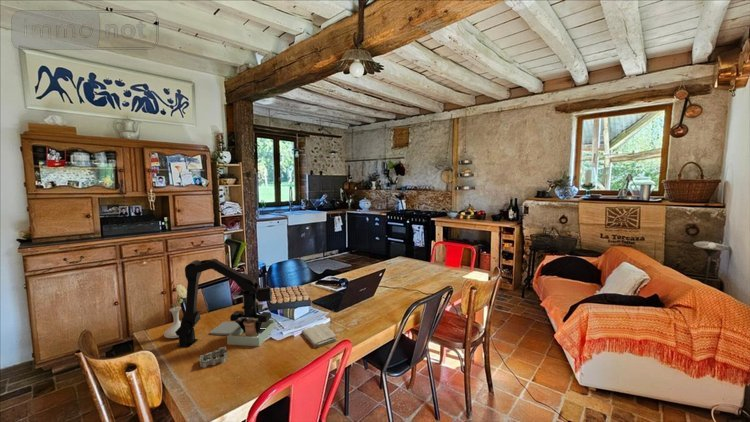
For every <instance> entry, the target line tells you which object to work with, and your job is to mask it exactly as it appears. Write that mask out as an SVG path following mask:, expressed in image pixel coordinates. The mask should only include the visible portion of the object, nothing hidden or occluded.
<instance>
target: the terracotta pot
mask: <svg viewBox="0 0 750 422" xmlns="http://www.w3.org/2000/svg"><path fill="white" fill-rule="evenodd" d="M256 321H257V319H255V318H248V319H246V320H244V322H243V324H244V326H245V332H244V334H245V335H244V336H251V337H257V336H258V335H260V332H259V333H258V334H257V332H256V326H255V322H256Z"/></svg>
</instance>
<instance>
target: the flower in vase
mask: <svg viewBox="0 0 750 422" xmlns="http://www.w3.org/2000/svg"><path fill="white" fill-rule="evenodd" d="M175 289H176V290H175V291H176V293H177V294H178V295H177V297H176V302H175V303H172V304H171V306H173V307H171V308H169V309H168V310H169V312H170V313H171V314H172V317H173V322H172V325H170V326H169V327H168V328H167V329H166V330H165V332H164V333H163V336H164V337H165V338H166V339H177V338H179V336H177V335H176V333H175V332H176V331H177V330H178V328H179V327H180V326H181V321H180V317H179V315H180V310H181V309H182V307H181V306H178V304H182V303H183V302H184V300H183V299H186V297H187V288H185V286H184V285H182V284H177V286H176V288H175ZM180 297H181V298H180Z"/></svg>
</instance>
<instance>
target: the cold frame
mask: <svg viewBox="0 0 750 422" xmlns="http://www.w3.org/2000/svg"><path fill="white" fill-rule="evenodd" d="M247 319H248V318H247ZM260 328H266V329H265V330H262V332H261V333H259V336H258V337H251V336H245V335H242V334H243V333H245V332H244V331H243V329H242V328H241V327H240V326H239V327H237V328H236V329H235V330H234V331H233V332H232V333H230V334H229V335H226V340H227V345H230V346H231V345H233V346H247V347H248V346H250V347H251V346H252V347H261V345H263V343H264V342H265V339H266V337H267V336H268V335H269V333H270V332H271V331H272V330H273V329H274V328H275V329H276V324H275V319H274V318H270V319H269V320H268V321H267V322H262V324H261V327H260ZM269 336H270V335H269ZM269 336H268V337H269ZM266 340H267V339H266Z"/></svg>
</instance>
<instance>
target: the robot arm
mask: <svg viewBox="0 0 750 422" xmlns="http://www.w3.org/2000/svg"><path fill="white" fill-rule="evenodd" d="M208 270H213V271H214V272H217V273H219V274H220V275H222V276H224V277H225V278H227V279H229V280H231V281H232V282H234V283H235V284H236V285H237V286H238V287H239V288H240V289H241V290H239V292H238V294H237V295H238V296H242V303H243V306H242V307H241V308H242V309H243V310H235V311H233V313H232V314H231V315H230V316H229V320H230V321H229V322H236V323H238V324H239V326H240V327H241V328H242V329H243V331H244V332H243V333H245V326H244V324H243V322H244V320H246V319H247V318H255V319H257V321H256V322H255V326H256V332H257V334H258V333H259V334H260V327H261V324H262V322H267V321H268V320H269V319H272V312H270V311H263V308H264V307H263V306H264V304H263V303H265V302H272V300H273V291H272V289H271V286H266V287H261V285H260V284H259V283H258V282H257V281H256V277H254V276H253V275H250V274H247V273H242V272H239V271H238V270H236V269H234V268H232V267H231V266H229V265H227V264H225V263H223V262H221V261H220V260H219V259H218V258H211V259H204V260H203V259H202V260H198V259H195V260H192V261H191V262H190V263H188V264H186V266H185V267H184V276H185V278H186V281H187V287H186V290H187V295H186V296H187V297H186V298H185V310H184V312H183V315H182V318H181V321H180V322H181V326H180V327H179V328H178V330H177V331H176V332H175V333H176V335H177V336H179V337H178V344H176V347H183V348H189V347H191V346H192V345H193V344H195V343H196V342H197V341H199V339H198V338H196V334H195V333H196V332H195V327H196V325H197V324H198V323H199V321H200V320H201V313H202V311H201V310H200V311H199V310H198V308H197V306H198V305H197V304H198V292H199V281H200V278H201V275H202V273H203V272H206V271H208ZM258 302H259V303H258ZM262 302H263V303H262ZM260 311H261V312H262V311H263V312H262V313H260ZM259 313H260V314H259Z"/></svg>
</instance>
